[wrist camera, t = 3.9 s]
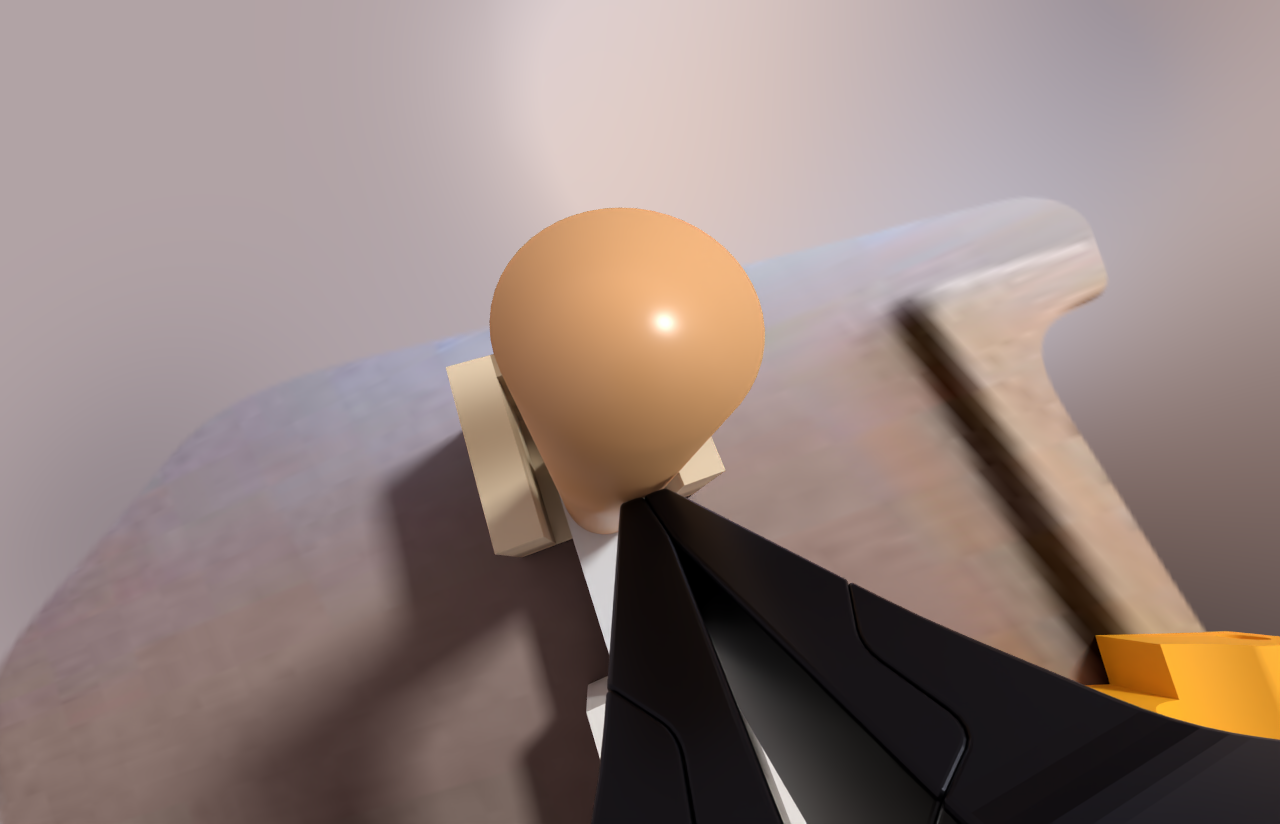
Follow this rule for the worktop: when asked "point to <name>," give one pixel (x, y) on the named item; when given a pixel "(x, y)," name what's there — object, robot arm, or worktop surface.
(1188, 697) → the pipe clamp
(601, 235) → the slide bolt
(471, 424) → the socket
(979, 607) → the worktop surface
